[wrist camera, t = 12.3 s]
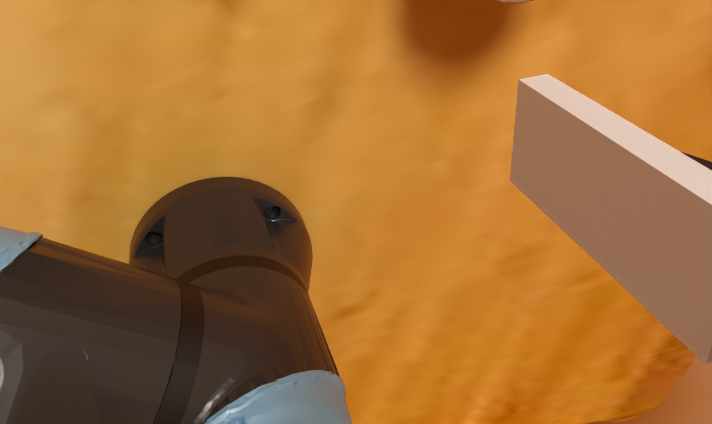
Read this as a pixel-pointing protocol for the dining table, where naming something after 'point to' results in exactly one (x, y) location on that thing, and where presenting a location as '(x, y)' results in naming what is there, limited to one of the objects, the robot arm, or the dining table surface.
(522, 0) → the lidded jar
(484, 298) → the dining table surface
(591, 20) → the dining table surface
